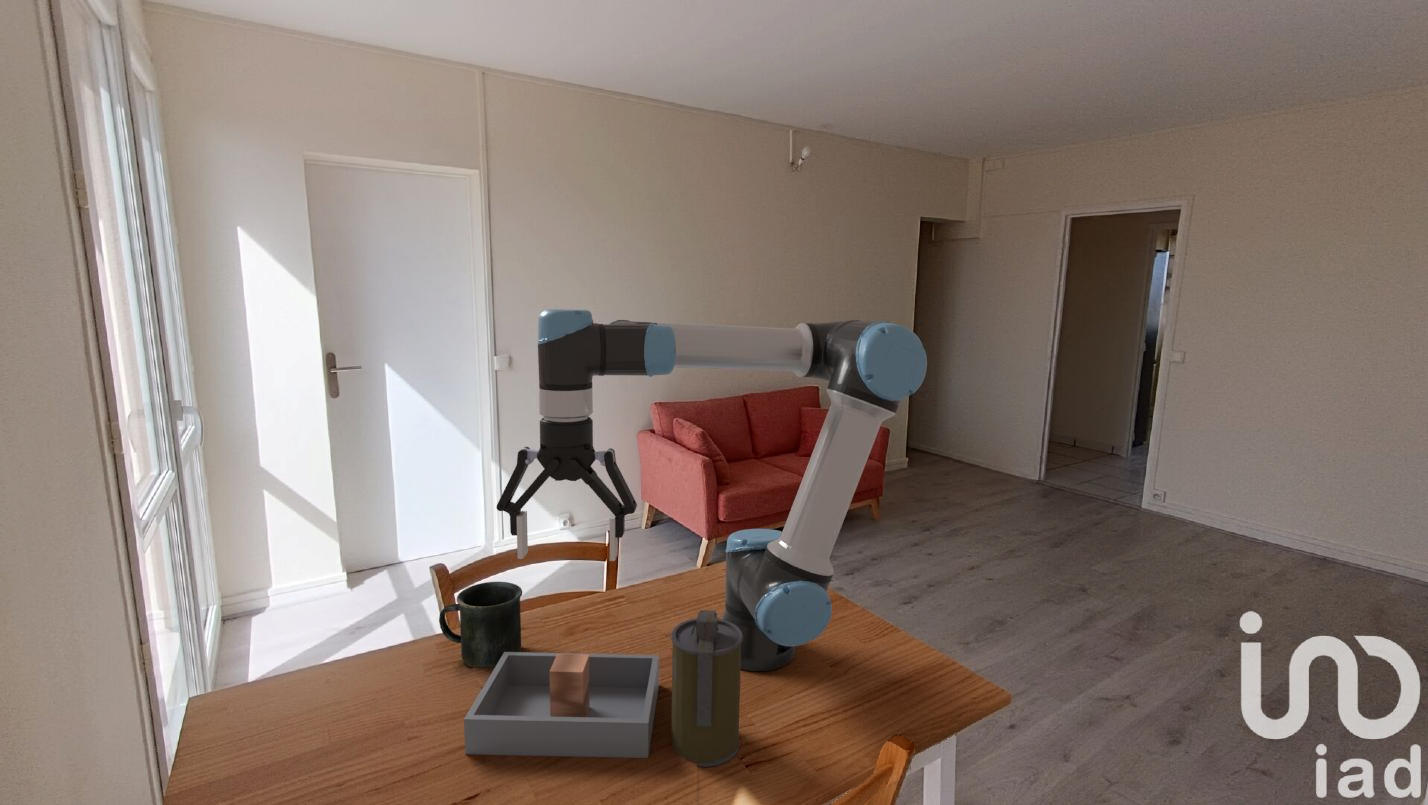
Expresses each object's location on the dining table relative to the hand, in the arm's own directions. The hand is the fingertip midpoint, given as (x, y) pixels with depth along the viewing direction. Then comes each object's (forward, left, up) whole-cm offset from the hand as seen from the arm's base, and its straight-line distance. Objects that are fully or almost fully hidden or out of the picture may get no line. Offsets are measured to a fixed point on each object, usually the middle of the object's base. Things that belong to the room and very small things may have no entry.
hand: (568, 556), depth 99 cm
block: (0, 0, -26) cm, 26 cm away
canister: (-21, +5, -27) cm, 34 cm away
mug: (+20, -18, -27) cm, 38 cm away
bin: (0, 0, -27) cm, 27 cm away
